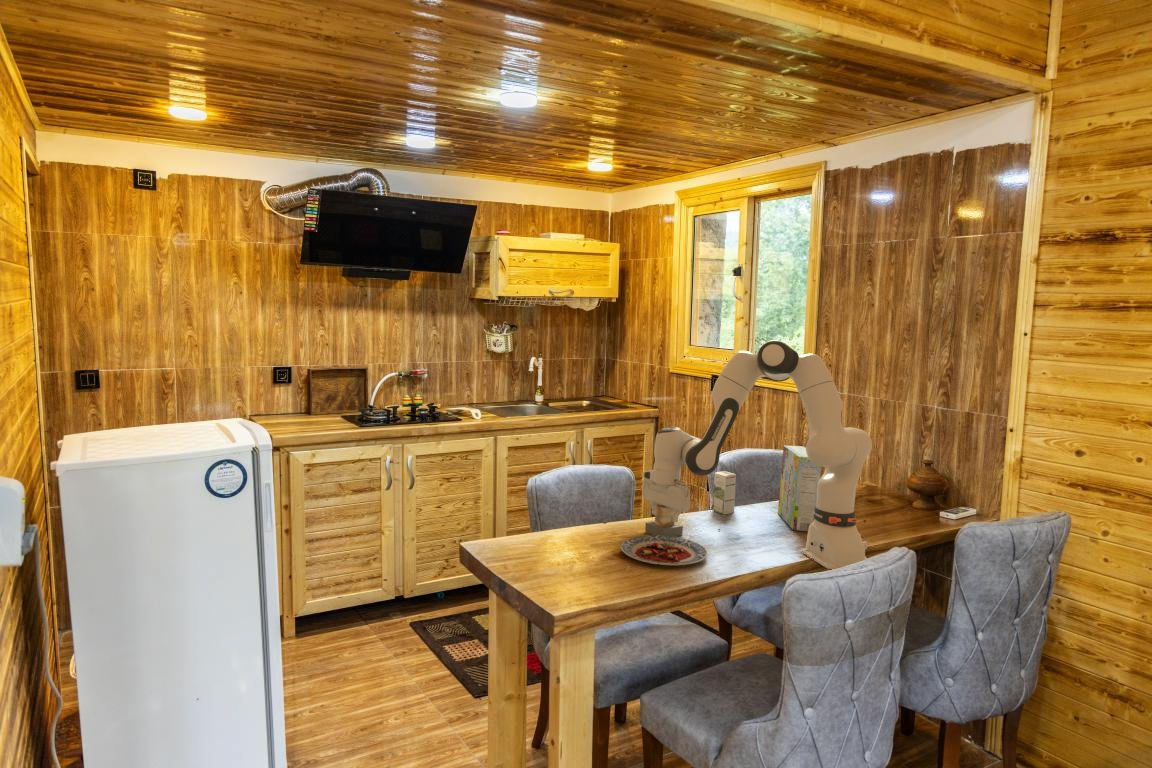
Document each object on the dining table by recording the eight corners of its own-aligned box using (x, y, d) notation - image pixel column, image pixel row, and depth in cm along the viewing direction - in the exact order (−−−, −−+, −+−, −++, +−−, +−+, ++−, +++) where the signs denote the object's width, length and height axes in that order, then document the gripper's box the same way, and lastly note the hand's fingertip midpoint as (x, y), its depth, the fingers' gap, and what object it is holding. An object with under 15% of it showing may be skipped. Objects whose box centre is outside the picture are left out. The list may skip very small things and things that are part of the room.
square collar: (682, 534, 242) (682, 525, 242) (662, 538, 237) (662, 529, 237) (665, 527, 249) (665, 519, 249) (645, 531, 244) (645, 522, 244)
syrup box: (734, 512, 270) (737, 473, 269) (723, 514, 267) (725, 475, 265) (723, 508, 275) (725, 470, 273) (711, 510, 272) (714, 472, 270)
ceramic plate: (688, 578, 205) (689, 568, 204) (605, 559, 217) (606, 549, 217) (719, 552, 227) (719, 543, 227) (642, 536, 239) (642, 527, 239)
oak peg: (673, 534, 243) (674, 507, 242) (663, 536, 240) (664, 509, 239) (664, 530, 246) (666, 504, 245) (654, 532, 244) (655, 505, 243)
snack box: (818, 532, 250) (823, 457, 247) (792, 531, 250) (797, 456, 247) (800, 514, 271) (805, 445, 269) (776, 513, 272) (781, 444, 269)
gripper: (695, 482, 234) (693, 525, 236) (654, 469, 251) (652, 509, 253) (681, 484, 231) (678, 528, 232) (639, 471, 247) (637, 511, 249)
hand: (664, 518), depth 243 cm, fingers open, 8 cm apart
